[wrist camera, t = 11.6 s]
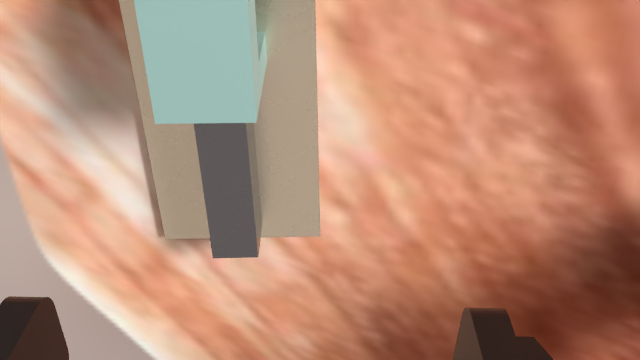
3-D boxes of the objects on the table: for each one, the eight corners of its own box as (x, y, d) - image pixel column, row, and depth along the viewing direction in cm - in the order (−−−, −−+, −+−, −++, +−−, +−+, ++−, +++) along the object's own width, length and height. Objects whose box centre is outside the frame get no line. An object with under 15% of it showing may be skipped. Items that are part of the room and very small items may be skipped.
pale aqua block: (165, -82, 26) (125, -49, 20) (258, -83, 26) (244, -50, 20) (184, 62, 29) (155, 123, 24) (266, 61, 29) (256, 122, 24)
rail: (42, -422, 21) (-5, -460, 18) (306, -427, 21) (304, -466, 18) (167, 232, 36) (153, 273, 33) (320, 229, 36) (320, 270, 33)
